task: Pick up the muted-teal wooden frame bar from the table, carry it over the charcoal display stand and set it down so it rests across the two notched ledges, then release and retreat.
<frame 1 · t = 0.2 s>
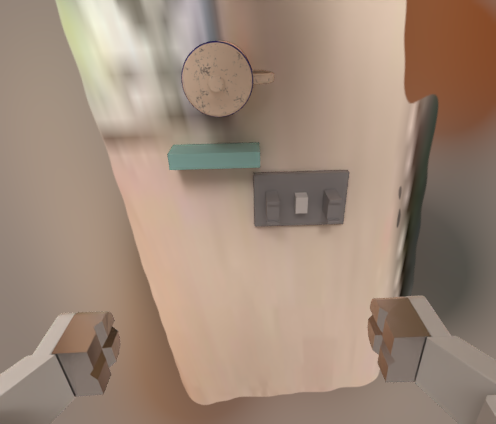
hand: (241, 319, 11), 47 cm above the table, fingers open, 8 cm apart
teacup with lid: (231, 72, 52), on the table
display stand: (299, 197, 62), on the table
frame bar: (216, 150, 58), on the table
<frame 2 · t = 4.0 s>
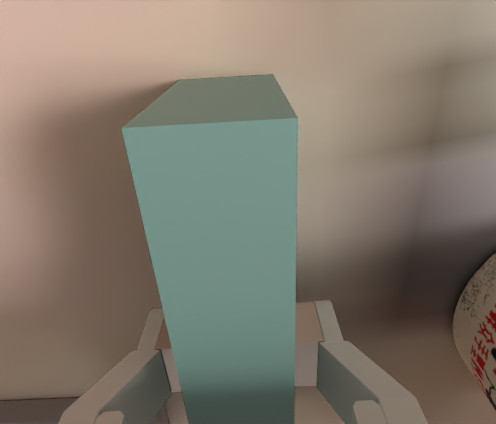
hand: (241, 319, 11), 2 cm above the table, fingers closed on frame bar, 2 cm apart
frame bar: (242, 282, 13), on the table, touching gripper
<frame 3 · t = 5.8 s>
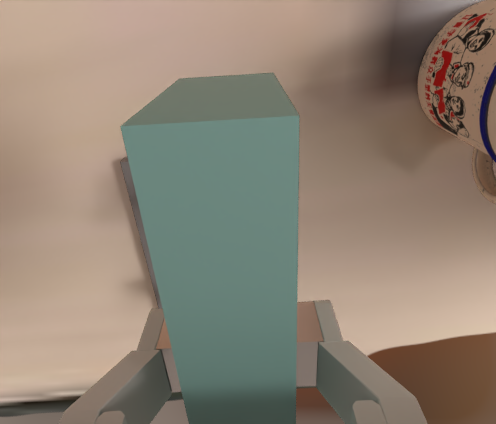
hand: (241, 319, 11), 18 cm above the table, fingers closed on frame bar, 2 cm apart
teacup with lid: (472, 91, 25), on the table
display stand: (201, 239, 31), on the table
frame bar: (243, 282, 13), point 16 cm above the table, touching gripper
when the fingers open (8 cm above the table, at t = 7.8 s): frame bar drops 1 cm, resting on display stand.
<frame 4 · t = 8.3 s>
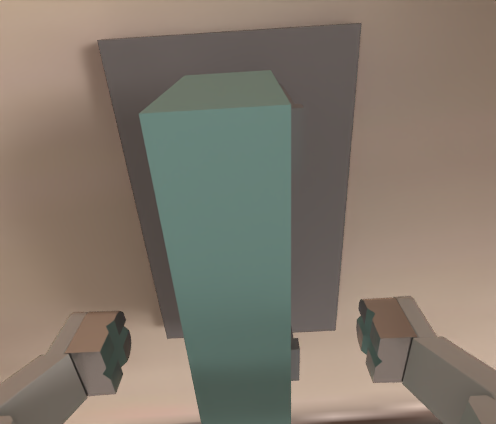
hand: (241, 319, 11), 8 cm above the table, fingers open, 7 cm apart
display stand: (242, 207, 18), on the table
frame bar: (243, 267, 13), point 5 cm above the table, touching display stand
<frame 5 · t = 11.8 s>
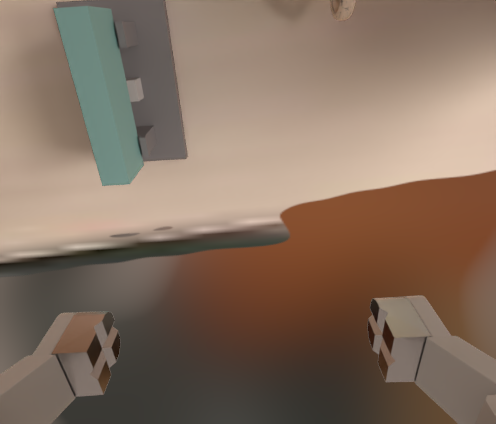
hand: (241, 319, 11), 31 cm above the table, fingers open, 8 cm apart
display stand: (130, 87, 37), on the table
frame bar: (115, 95, 33), point 5 cm above the table, touching display stand
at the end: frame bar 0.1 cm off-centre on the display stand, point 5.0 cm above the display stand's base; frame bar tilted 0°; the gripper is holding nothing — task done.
